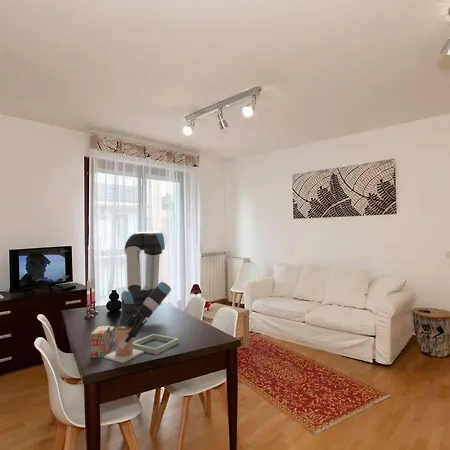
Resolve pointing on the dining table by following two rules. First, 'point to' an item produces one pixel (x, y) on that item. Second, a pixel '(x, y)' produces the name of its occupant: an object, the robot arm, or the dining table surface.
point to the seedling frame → (157, 350)
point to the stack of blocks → (102, 340)
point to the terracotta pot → (119, 336)
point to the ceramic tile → (123, 356)
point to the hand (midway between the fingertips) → (117, 344)
